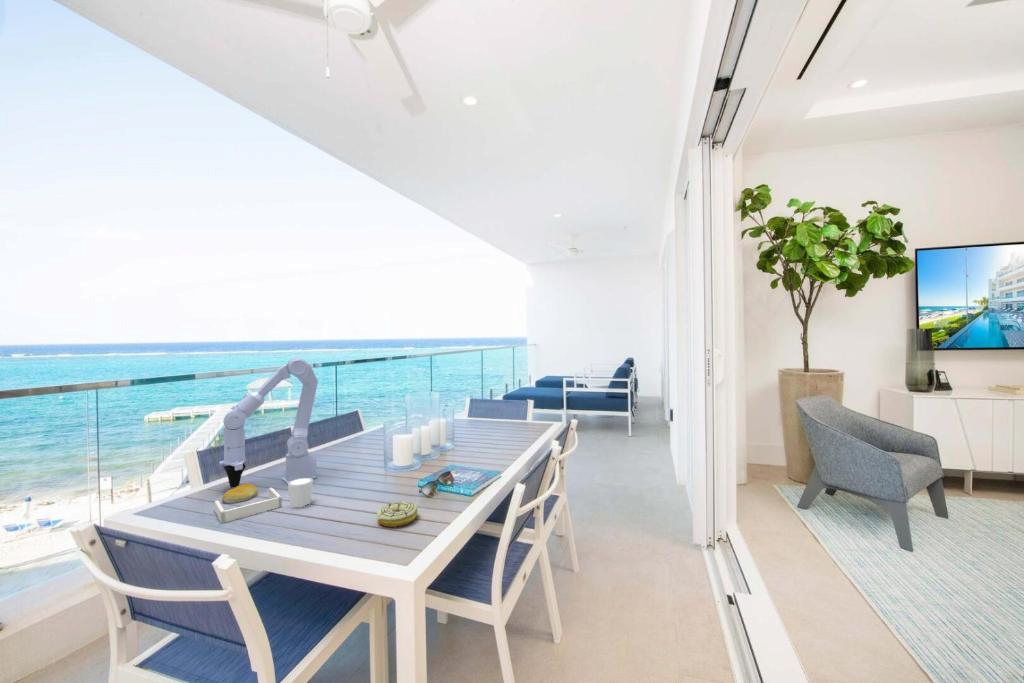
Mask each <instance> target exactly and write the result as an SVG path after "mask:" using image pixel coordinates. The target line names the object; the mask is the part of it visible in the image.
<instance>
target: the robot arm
mask: <svg viewBox="0 0 1024 683" xmlns="http://www.w3.org/2000/svg"><path fill="white" fill-rule="evenodd" d="M291 375H292V376H294V377H295V378H297V379H298V380H299V382H300V383H302V387H301V392H300V397H299V401H298V406H297V411H296V414H295V420H294V424H293V428H292V431H291V434H290V436H289V437H288V438H287V440H286V447H287V453H286V454H285V476H284V477H281V480H282V481H283V482H285V484H287V485H288V483H289V482H290V481H292V480H295V479H299V478H312V479H313V480H314V479H317V456H316V454H315V452H314V451H311V452H309V450H308V449H309V444H308V440H307V439H308V434H309V425H310V420H311V417H312V416H311V415H312V411H313V406H314V402H315V397H316V393H317V392H316V391H317V388H318V384H319V381H318V378H317V376H316V373H315V372H314V369H313V367H312V365H311V364H310V363H309V362H307V361H306V360H305V359H303V358H302V357H292V358H291V359H289V360H288V362H287V363H285V364H283V365H282V366H281V367H279V368H278V369H277V370H275V372H274V373H273V374H272V375H270V377H269V378H268V379H267V380H266V381H265V382H264V383H263V384H262V385H261V386H260V387H259V388H258V389H257V390H256V391H249V392H248V393H244V394H243V396H242V399H241V400H240V401H239V402H238V403H237V404H235V405H233V406H232V407H231V410H230V411H228V412H227V413H226V414H225V416H224V417H223V421H222V422H223V425H224V428H223V430H224V434H223V460H220V461H219V462H218V464H219V465H224V466H223V467H222V468H223V469H224V471H225V473H226V476H227V479H228V483H229V487H230V488H231V489H234V488H236V487H237V486H239V485H240V482H241V478H242V475H243V473H244V471H245V469H246V467H247V465H246V464H245V461H246V455H245V454H246V431H245V422H246V419H248V418H250V417H251V416H252V415H253V414H254V413H255V412H256V411H257V410H259V408H260V407H261V406H262V405H263V404H264V403H265V397H266V396H267V395H268V394H269V393H270V392H271V391H272V390H274V388H276V387H277V385H278V384H280V383H281V382H282V381H283V380H287V379H291V378H292V376H291Z"/></svg>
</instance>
